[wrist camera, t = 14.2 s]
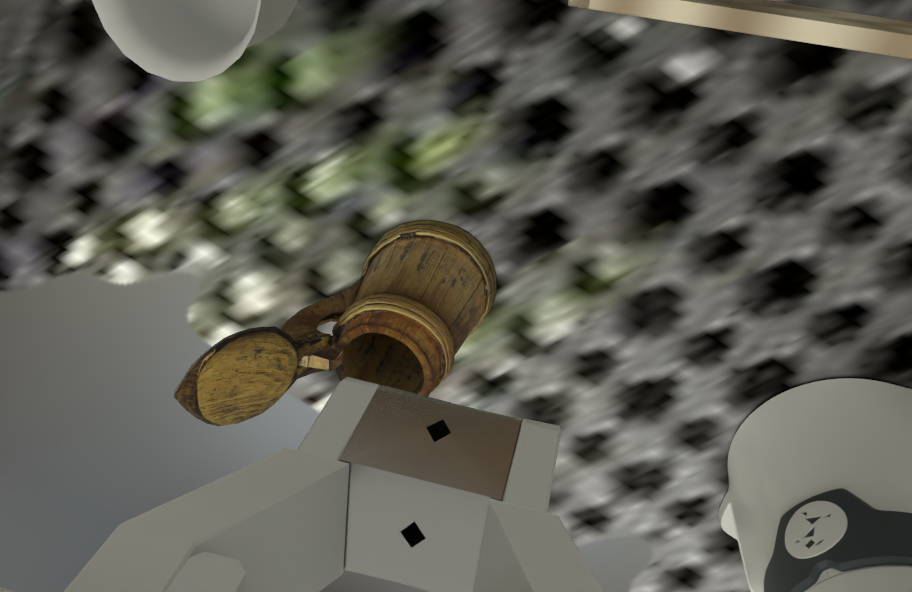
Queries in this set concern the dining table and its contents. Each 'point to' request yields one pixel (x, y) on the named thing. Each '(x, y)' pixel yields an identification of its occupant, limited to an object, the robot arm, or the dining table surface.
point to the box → (774, 21)
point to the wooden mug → (358, 328)
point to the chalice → (190, 32)
